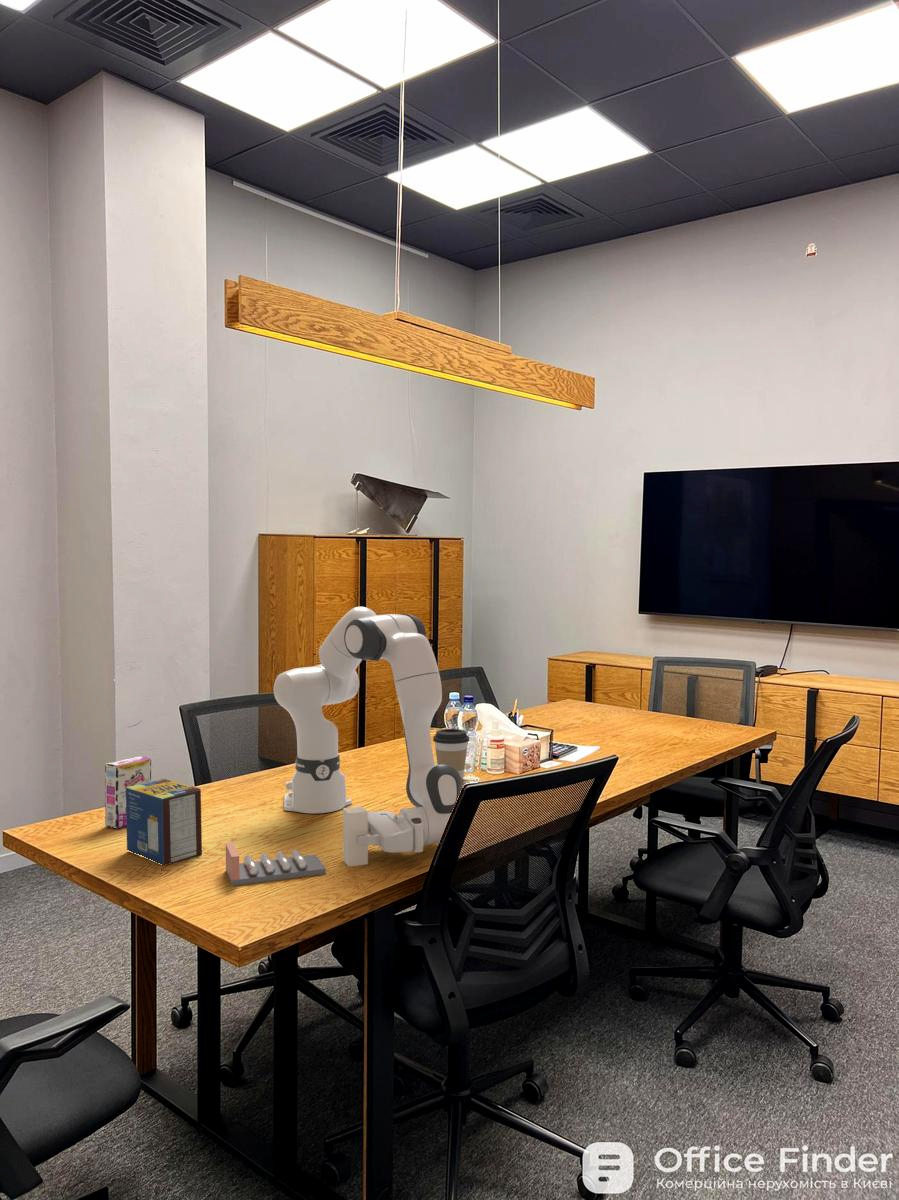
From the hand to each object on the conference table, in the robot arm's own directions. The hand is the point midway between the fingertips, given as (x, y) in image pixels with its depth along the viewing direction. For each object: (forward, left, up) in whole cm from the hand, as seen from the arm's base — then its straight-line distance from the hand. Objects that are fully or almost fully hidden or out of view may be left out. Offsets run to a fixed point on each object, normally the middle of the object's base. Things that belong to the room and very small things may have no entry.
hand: (351, 834), depth 202 cm
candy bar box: (-50, -46, -7) cm, 68 cm away
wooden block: (0, +1, -7) cm, 7 cm away
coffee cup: (-62, +48, -7) cm, 79 cm away
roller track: (0, -17, -7) cm, 18 cm away
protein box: (-22, -39, -7) cm, 45 cm away
